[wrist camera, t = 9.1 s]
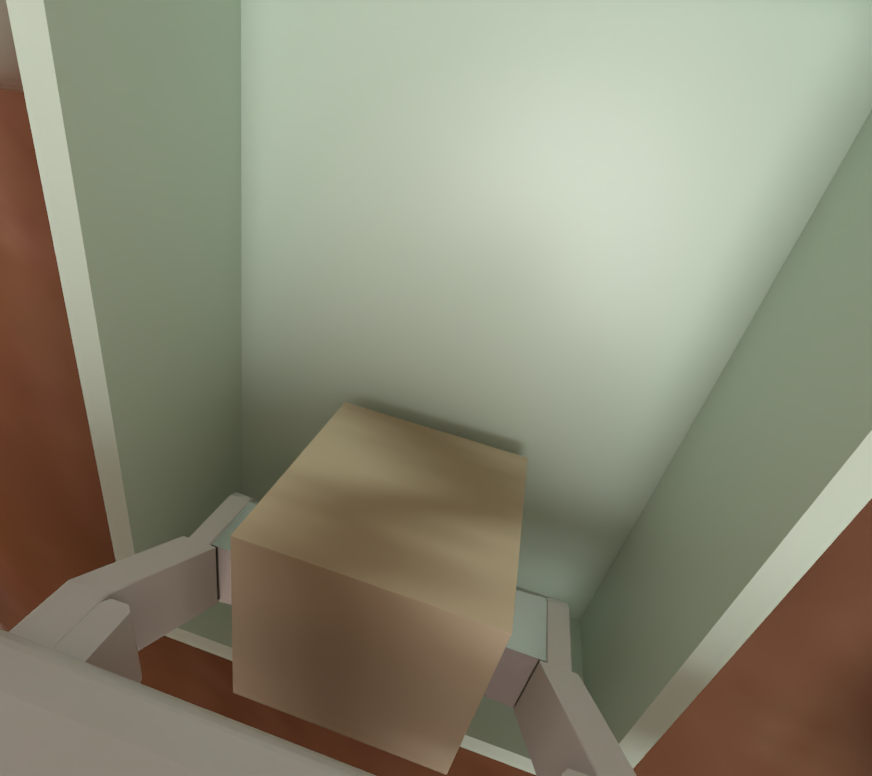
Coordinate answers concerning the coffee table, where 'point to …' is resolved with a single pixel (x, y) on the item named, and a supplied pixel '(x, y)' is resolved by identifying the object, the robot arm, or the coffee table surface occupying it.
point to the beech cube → (380, 583)
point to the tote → (483, 283)
